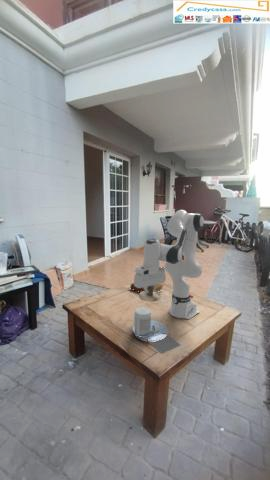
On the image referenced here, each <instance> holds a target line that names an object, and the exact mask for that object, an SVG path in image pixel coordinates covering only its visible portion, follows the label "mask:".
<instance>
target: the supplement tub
mask: <svg viewBox="0 0 270 480" xmlns="http://www.w3.org/2000/svg"><path fill="white" fill-rule="evenodd" d="M151 312H152V311H151V309H150V308H147V307H137V308H136V309H135V310H134V326H133V327H134V330H133V333H135V334H136V335H137V336H141V337H146V338H148V337H150V335H151V328H152V327H151V326H152V325H151V324H152V323H151V321H152V313H151ZM135 334H134V335H135ZM136 335H135V336H136ZM137 336H136V337H137ZM147 336H148V337H147Z"/></svg>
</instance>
